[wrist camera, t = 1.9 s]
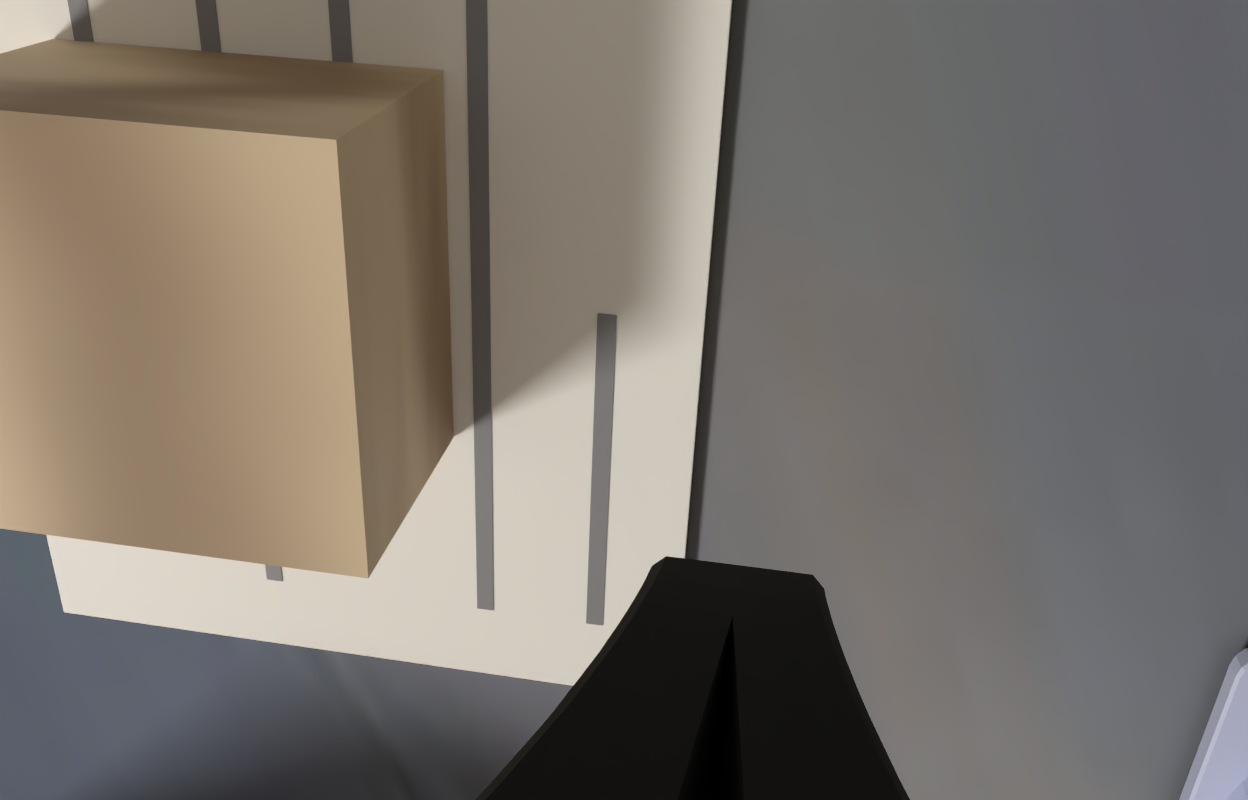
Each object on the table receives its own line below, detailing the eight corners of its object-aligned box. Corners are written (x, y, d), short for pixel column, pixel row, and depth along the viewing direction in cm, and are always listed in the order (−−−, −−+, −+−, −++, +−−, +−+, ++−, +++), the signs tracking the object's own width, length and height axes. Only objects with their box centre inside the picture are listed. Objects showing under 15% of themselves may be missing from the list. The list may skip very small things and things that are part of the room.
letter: (760, -335, 14) (760, -338, 13) (673, 692, 21) (672, 700, 21) (-150, -367, 15) (-162, -369, 15) (70, 605, 22) (63, 612, 22)
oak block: (443, 70, 16) (335, 139, 13) (453, 437, 19) (368, 578, 15) (52, 38, 17) (-151, 96, 13) (117, 397, 20) (-38, 523, 16)
